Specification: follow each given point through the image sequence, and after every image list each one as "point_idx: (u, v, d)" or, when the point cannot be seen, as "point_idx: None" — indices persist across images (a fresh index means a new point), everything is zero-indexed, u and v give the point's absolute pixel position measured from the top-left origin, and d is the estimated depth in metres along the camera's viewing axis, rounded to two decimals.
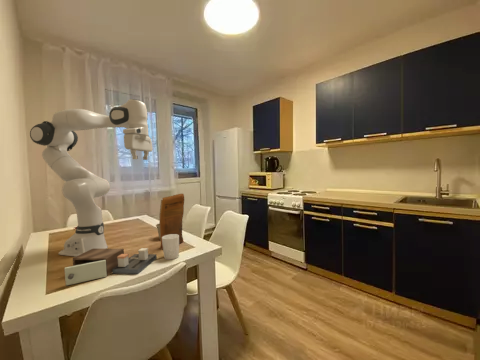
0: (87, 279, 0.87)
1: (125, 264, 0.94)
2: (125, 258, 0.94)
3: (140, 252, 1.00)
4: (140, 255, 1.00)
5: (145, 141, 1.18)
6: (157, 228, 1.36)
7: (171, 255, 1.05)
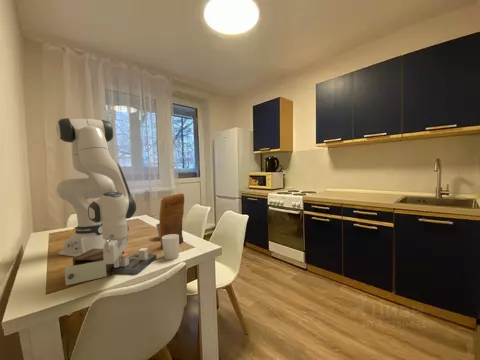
0: (87, 279, 0.87)
1: (126, 263, 0.94)
2: (126, 258, 0.94)
3: (140, 252, 1.00)
4: (140, 255, 1.00)
5: None
6: (157, 228, 1.36)
7: (171, 255, 1.05)
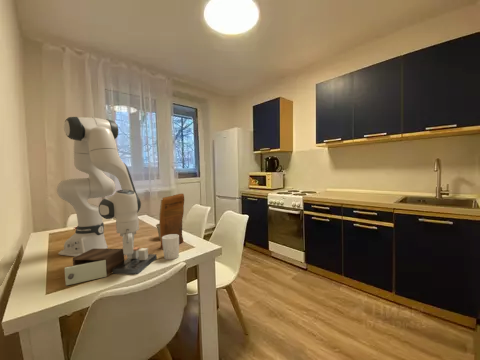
0: (87, 279, 0.87)
1: (136, 256, 1.02)
2: (136, 251, 1.02)
3: (140, 252, 1.00)
4: (140, 255, 1.00)
5: None
6: (157, 228, 1.36)
7: (171, 255, 1.05)
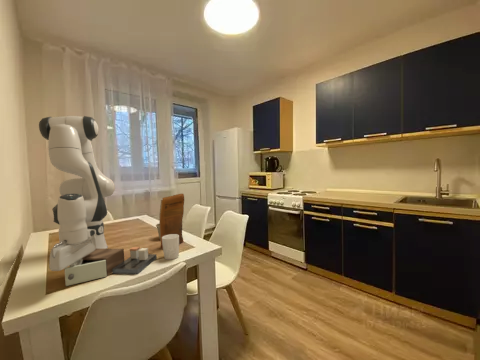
0: (87, 279, 0.86)
1: (137, 256, 1.03)
2: (137, 250, 1.03)
3: (140, 252, 1.00)
4: (140, 255, 1.00)
5: None
6: (157, 228, 1.36)
7: (171, 255, 1.05)
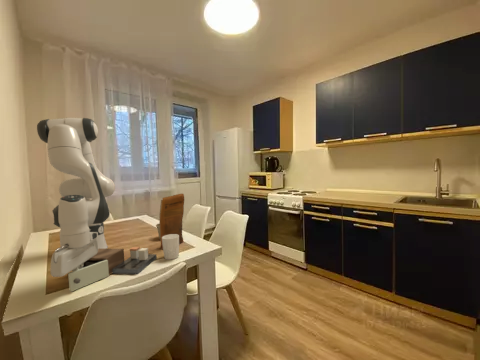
0: (91, 281, 0.85)
1: (137, 256, 1.03)
2: (137, 250, 1.03)
3: (140, 252, 1.00)
4: (140, 255, 1.00)
5: None
6: (157, 228, 1.36)
7: (171, 255, 1.05)
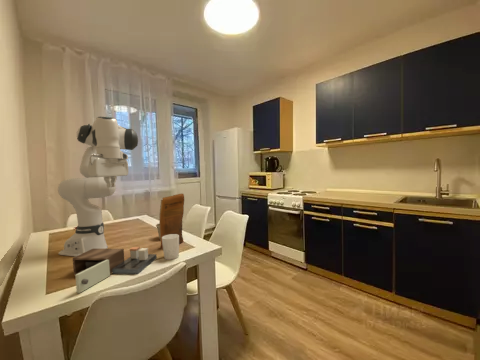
0: (96, 282, 0.84)
1: (137, 256, 1.03)
2: (137, 250, 1.03)
3: (140, 252, 1.00)
4: (140, 255, 1.00)
5: None
6: (157, 228, 1.36)
7: (171, 255, 1.05)
